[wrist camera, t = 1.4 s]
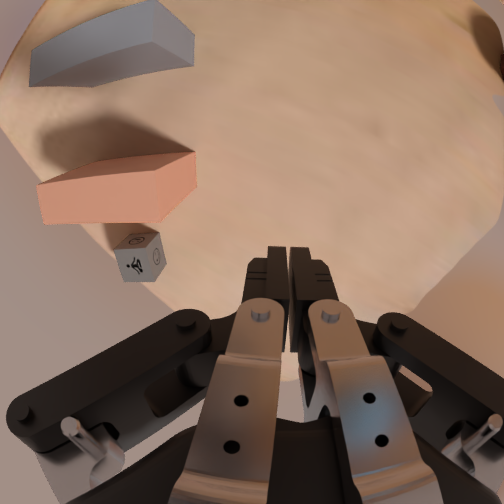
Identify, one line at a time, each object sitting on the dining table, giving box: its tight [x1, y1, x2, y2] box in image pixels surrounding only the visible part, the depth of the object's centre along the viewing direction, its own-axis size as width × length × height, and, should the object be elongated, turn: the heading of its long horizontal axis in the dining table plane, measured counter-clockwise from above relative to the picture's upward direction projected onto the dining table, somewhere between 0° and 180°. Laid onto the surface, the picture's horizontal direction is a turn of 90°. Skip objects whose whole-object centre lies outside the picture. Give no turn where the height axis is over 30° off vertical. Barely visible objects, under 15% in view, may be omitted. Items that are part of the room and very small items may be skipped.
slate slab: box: [29, 0, 195, 87], centre depth 20 cm, size 15×4×12 cm, turn 90°
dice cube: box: [114, 232, 167, 282], centre depth 36 cm, size 5×5×5 cm
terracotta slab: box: [36, 152, 197, 225], centre depth 27 cm, size 15×4×12 cm, turn 90°
